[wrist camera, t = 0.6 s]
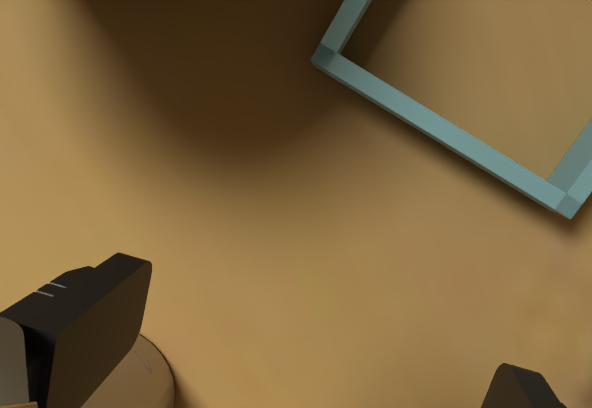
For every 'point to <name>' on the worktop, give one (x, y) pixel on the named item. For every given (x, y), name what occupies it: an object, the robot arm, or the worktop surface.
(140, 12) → the worktop surface
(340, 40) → the teal low frame
